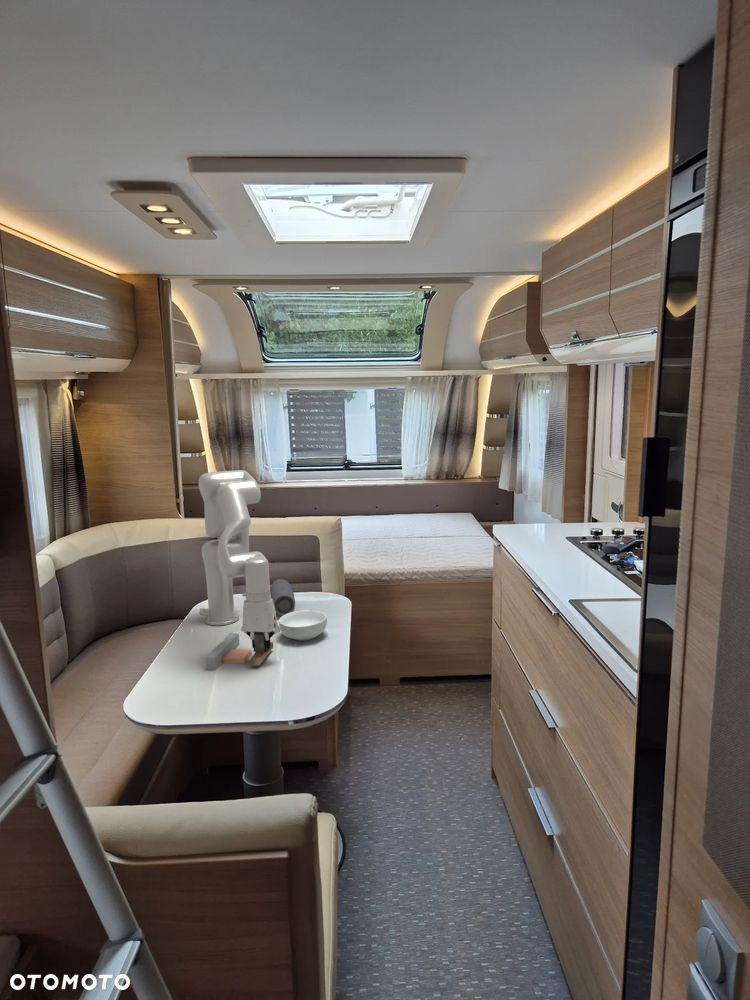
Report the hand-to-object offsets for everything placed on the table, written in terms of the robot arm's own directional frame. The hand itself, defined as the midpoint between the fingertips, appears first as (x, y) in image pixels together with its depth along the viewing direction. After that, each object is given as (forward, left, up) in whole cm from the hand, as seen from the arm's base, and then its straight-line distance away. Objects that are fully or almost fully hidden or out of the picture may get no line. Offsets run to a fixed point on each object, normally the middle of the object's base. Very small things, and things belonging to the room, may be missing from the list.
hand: (261, 649), depth 195 cm
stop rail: (-14, +1, -3) cm, 14 cm away
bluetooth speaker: (-8, +47, -4) cm, 48 cm away
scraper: (0, 0, -2) cm, 2 cm away
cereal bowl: (+8, +20, -4) cm, 22 cm away
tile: (-8, 0, -4) cm, 9 cm away
